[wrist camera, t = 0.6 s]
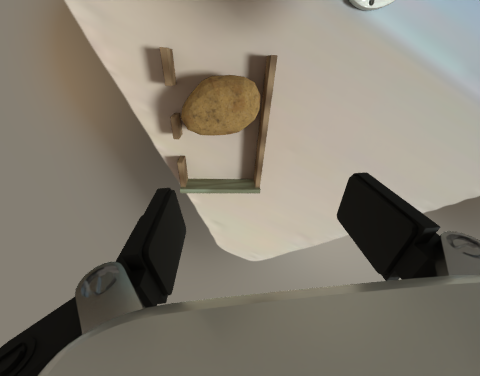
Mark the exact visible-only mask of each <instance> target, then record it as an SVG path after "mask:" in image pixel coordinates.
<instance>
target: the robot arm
mask: <svg viewBox="0 0 480 376" xmlns="http://www.w3.org/2000/svg"><path fill="white" fill-rule="evenodd" d="M394 1H395V0H349V2H351V3H352V4H353V5H354V6H355V7H357V8H359V9H361V10H367V11H369V10H376V9H379V8H382V7H384V6H386V5H389V4H391V3H392V2H394ZM337 218H338V220H339V222H340V223H341V224H342V226H343V227H344V229H345V230H346V231H347V233H348V234H349V235H350V237H351V238H352V239H353V241H354V242H355V243H356V244H357V246H358V247H359V249H360V250H361V251H362V253H363V254H364V255H365V257H366V258H367V259H368V261H369V262H370V263H371V265H372V266H373V267H374V269H375V270H376V271H377V272H378V273H379V274H381V275H382V276H383V278H384V279H385V280H386V281H383V282H371V283H361V284H350V285H340V286H329V287H320V288H309V289H299V290H289V291H279V292H270V293H260V294H250V295H241V296H231V297H221V298H212V299H204V300H196V301H188V302H180V303H171V304H165V305H160V306H157V304H162V303H166V301H167V297H168V295H171V293H172V290H173V286H174V282H175V278H176V273H177V269H178V265H179V260H180V256H181V252H182V247H183V243H184V239H185V234H186V227H185V223H184V220H183V217H182V214H181V210H180V206H179V203H178V200H177V197H176V193H175V191H174V190H171V189H170V188H160V189H157V191H156V193H155V195H154V197H153V198H152V200H151V202H150V204H149V206H148V207H147V209H146V211H145V213H144V215H143V216H141V217H140V219H139V221H138V222H137V225H136V226H135V228H134V230H133V231H132V233H131V235H130V237H129V239H128V240H127V242H126V244H125V246H124V248H123V249H122V251H121V253H120V255H119V257H118V258H117V260H116V262H108V263H104V264H102V265H100V266H97V267H95V268H94V269H93V270H91V271H90V272H89V273H88V274H86V275H85V276H84V277H83V278H82V280H81V281H80V282H79V284H78V286H77V288H76V292H75V297H74V298H72V299H71V300H69V301H68V302H66V303H65V304H63V305H62V306H60V307H59V308H57V309H56V310H54V311H53V312H51V313H50V314H48V315H47V316H46V317H44V318H43V319H41V320H40V321H38V322H37V323H35V324H34V325H32V326H31V327H29V328H28V329H26V330H25V331H23V332H22V333H20V334H19V335H17V336H16V337H14V338H13V339H11V340H10V341H8V342H7V343H6V344H4V345H3V346H2V347H1V348H0V376H480V240H478V239H476V238H474V237H472V236H469V235H466V234H463V233H458V232H453V231H452V232H451V231H447V232H444V233H442V234H441V235H440V236H439V235H438V234H437V233H436V232H437V231H438V230H439V228H440V226H438V225H437V224H436V223H434V222H433V221H432V220H430V219H429V218H428V217H426V216H425V215H424V214H422V213H421V212H420V211H418V210H417V209H415V208H414V207H413V206H411V205H410V204H409V203H407V202H406V201H405V200H403V199H402V198H401V197H399V196H398V195H397V194H395V193H394V192H393V191H391V190H390V189H388V188H387V187H386V186H384V185H383V184H382V183H380V182H379V181H378V180H376V179H375V178H374V177H372V176H371V175H370V174H368V173H355V174H353V175H352V176H351V177H350V178H349V180H348V183H347V186H346V189H345V192H344V195H343V198H342V201H341V203H340V206H339V209H338V212H337ZM399 278H401V279H402V280H398V279H399Z"/></svg>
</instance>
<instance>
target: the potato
mask: <svg viewBox="0 0 480 376" xmlns="http://www.w3.org/2000/svg"><path fill="white" fill-rule="evenodd" d="M259 109H260V93H259V91H258V89H257V87H256V85H255V82H253V81H251V80H249V79H247V78H245V77H241V76H234V75H225V76H211V77H209V78H207V79H205V80H203V81H201V83H200V84H199V85H198V86H197V87H196V88H195V90H194V91H193V92H192V93H191V94H190V96H189V97H188V98H187V100H186V102H185V103H184V105H183V108H182V114H181V119H182V121H183V122H184V124H185V125H186V127H187V129H188V130H190V131H193V132H195V133H197V134H200V135H226V134H232V133H236V132H239V131H241V130H242V129H244V128H245V127H247V126H248V125H249V124H250V123H251V122H252V121H254V120H255V118H256V116H257V114H258V112H259Z"/></svg>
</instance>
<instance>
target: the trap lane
mask: <svg viewBox="0 0 480 376" xmlns="http://www.w3.org/2000/svg"><path fill="white" fill-rule="evenodd" d="M160 53H161V60H162V67H163V73H164V80H165V85H166V86H173V85H175V84H176V77H175V69H174V61H173V53H172V49H169V48H164V47H160ZM276 62H277V55H269V56H267V60H266V69H265V78H264V87H263V97H262V106H261V115H260V124H259V133H258V142H257V151H256V161H255V170H254V179H253V180H244V179H188V175H187V166H186V158H185V156H180V158H179V160H178V162H177V165H178V171H179V178H180V184H181V189H180V193H260V181H261V173H262V166H263V158H264V151H265V144H266V136H267V129H268V122H269V114H270V107H271V99H272V92H273V85H274V77H275V70H276ZM170 119H171V125H172V132H173V138H174V139H179V138H180V137H181V135H182V126H181V118H180V113H174V114H173V115H172V116H171V117H170Z"/></svg>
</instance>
